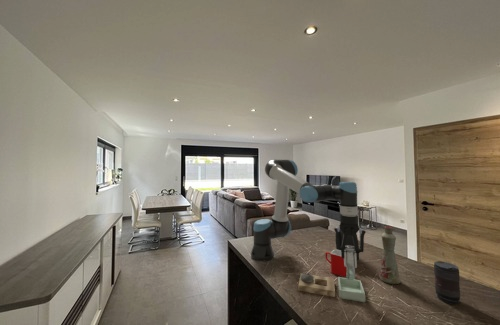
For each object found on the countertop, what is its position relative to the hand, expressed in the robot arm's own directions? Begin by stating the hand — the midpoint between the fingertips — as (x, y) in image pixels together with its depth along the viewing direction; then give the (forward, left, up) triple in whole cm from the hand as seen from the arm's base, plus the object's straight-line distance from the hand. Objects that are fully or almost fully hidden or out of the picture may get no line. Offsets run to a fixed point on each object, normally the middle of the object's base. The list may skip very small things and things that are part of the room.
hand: (350, 265), depth 96 cm
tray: (0, 0, -12) cm, 12 cm away
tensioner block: (-15, 0, -12) cm, 19 cm away
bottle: (+20, +18, -12) cm, 30 cm away
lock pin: (0, 0, -5) cm, 5 cm away
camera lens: (+39, +8, -12) cm, 42 cm away
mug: (-5, +20, -12) cm, 24 cm away
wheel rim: (+2, +39, -12) cm, 41 cm away
